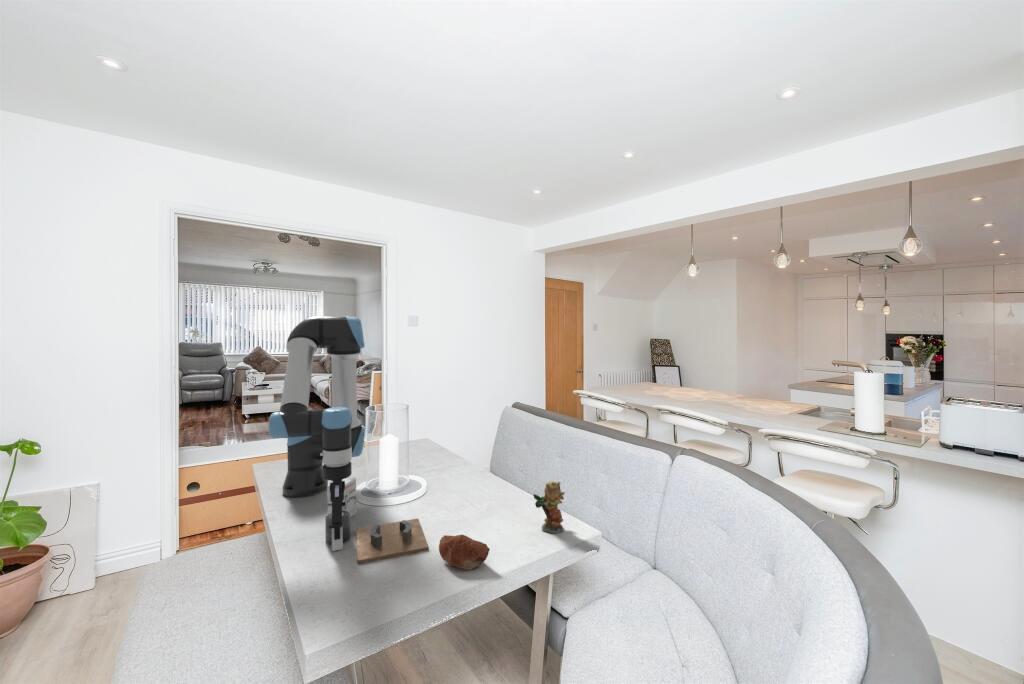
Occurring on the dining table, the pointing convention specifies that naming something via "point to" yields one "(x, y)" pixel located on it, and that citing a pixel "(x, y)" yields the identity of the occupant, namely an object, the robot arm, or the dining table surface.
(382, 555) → the brown cardboard plate
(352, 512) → the ink box
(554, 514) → the figurine
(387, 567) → the dining table surface
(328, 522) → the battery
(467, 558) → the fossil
